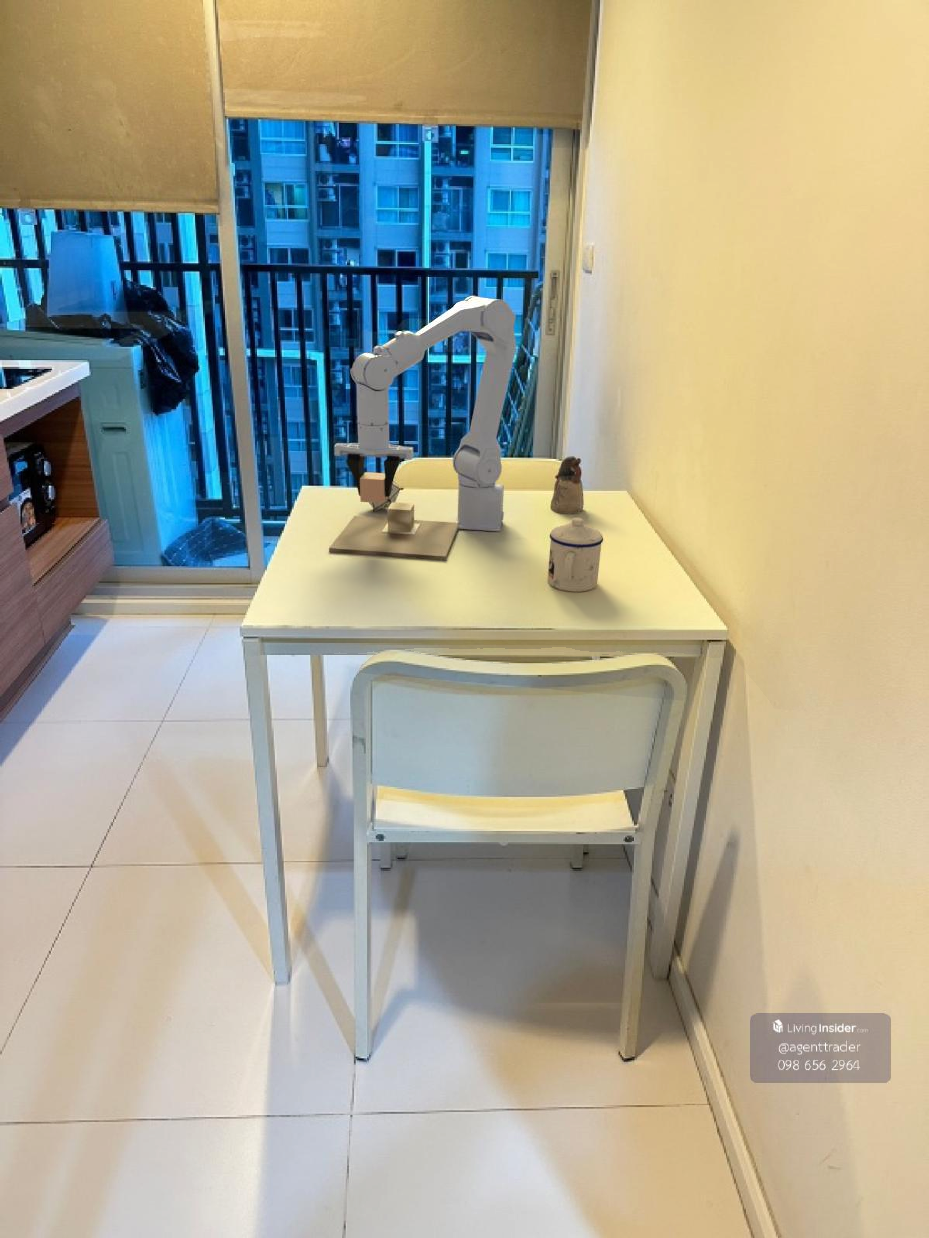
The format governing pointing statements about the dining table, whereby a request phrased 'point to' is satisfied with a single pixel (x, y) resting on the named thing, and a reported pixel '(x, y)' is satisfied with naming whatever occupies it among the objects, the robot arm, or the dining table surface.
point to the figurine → (568, 488)
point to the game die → (390, 499)
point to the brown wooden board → (396, 539)
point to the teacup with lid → (574, 557)
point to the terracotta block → (372, 487)
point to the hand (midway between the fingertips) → (374, 494)
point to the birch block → (400, 517)
